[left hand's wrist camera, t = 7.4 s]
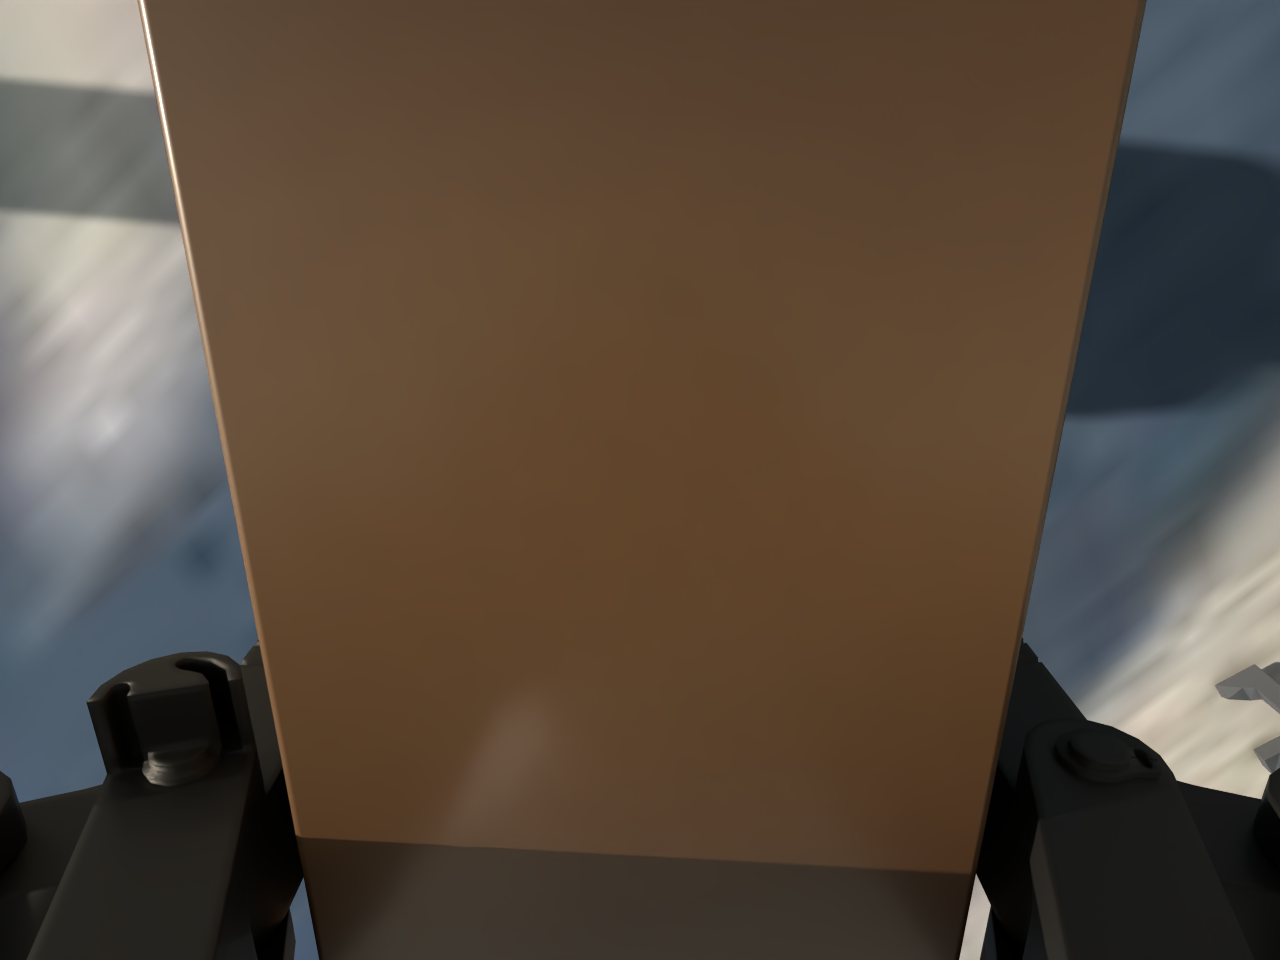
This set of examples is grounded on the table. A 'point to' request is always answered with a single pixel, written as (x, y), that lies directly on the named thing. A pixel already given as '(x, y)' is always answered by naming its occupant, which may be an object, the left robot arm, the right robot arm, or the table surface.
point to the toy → (1256, 687)
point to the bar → (640, 444)
